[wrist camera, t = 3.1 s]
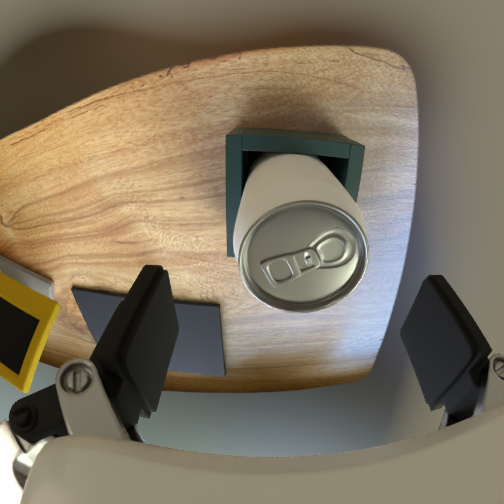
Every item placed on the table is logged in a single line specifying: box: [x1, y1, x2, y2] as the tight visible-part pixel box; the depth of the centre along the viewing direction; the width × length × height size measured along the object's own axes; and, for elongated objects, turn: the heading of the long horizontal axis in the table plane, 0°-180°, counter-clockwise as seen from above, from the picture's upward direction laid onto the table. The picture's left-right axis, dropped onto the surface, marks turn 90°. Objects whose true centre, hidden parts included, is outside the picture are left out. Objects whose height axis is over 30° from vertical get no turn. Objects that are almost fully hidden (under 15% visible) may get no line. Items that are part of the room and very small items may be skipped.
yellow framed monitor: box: [0, 255, 61, 393], centre depth 23 cm, size 20×8×16 cm, turn 73°
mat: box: [71, 287, 225, 377], centre depth 32 cm, size 20×14×1 cm
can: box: [233, 151, 369, 313], centre depth 16 cm, size 6×6×12 cm
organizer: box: [226, 128, 365, 257], centre depth 19 cm, size 9×9×5 cm
